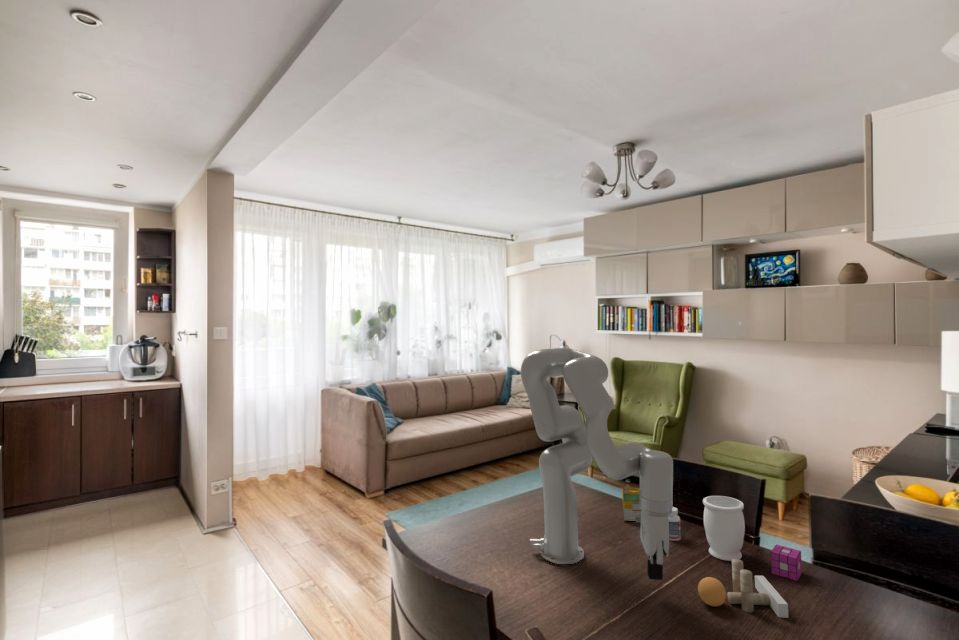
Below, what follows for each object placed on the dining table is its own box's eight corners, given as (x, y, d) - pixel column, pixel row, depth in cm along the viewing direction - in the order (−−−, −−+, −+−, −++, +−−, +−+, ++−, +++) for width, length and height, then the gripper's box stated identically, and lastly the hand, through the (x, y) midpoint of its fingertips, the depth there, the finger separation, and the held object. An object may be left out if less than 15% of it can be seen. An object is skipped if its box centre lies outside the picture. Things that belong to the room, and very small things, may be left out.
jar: (730, 567, 126) (727, 511, 126) (696, 551, 135) (694, 499, 135) (754, 557, 131) (752, 503, 131) (720, 542, 140) (718, 492, 140)
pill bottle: (682, 541, 142) (681, 512, 142) (664, 540, 143) (663, 511, 143) (678, 534, 147) (677, 505, 147) (661, 533, 148) (660, 505, 148)
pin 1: (735, 599, 111) (734, 563, 112) (731, 593, 114) (730, 558, 114) (746, 599, 111) (744, 563, 111) (742, 594, 113) (740, 559, 114)
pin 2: (744, 612, 106) (742, 574, 107) (739, 605, 109) (738, 569, 109) (755, 612, 106) (753, 575, 106) (751, 606, 108) (749, 569, 109)
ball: (733, 610, 106) (705, 614, 108) (725, 591, 112) (699, 595, 114) (725, 587, 106) (697, 591, 107) (717, 569, 112) (692, 573, 113)
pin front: (731, 596, 109) (770, 598, 108) (727, 589, 111) (765, 591, 110) (731, 606, 109) (770, 607, 108) (727, 599, 112) (765, 600, 111)
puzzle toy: (802, 572, 122) (801, 550, 123) (797, 581, 118) (796, 558, 118) (776, 565, 126) (775, 544, 127) (771, 573, 122) (770, 551, 123)
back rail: (778, 617, 104) (778, 603, 104) (755, 587, 116) (754, 575, 116) (788, 617, 104) (787, 604, 104) (763, 587, 116) (763, 575, 116)
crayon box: (645, 519, 158) (644, 485, 159) (646, 523, 156) (645, 488, 156) (623, 518, 160) (621, 484, 160) (623, 521, 157) (622, 487, 157)
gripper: (634, 490, 121) (633, 560, 122) (646, 515, 107) (645, 594, 107) (664, 492, 120) (663, 562, 121) (680, 517, 105) (679, 597, 106)
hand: (654, 577), depth 114 cm, fingers closed
